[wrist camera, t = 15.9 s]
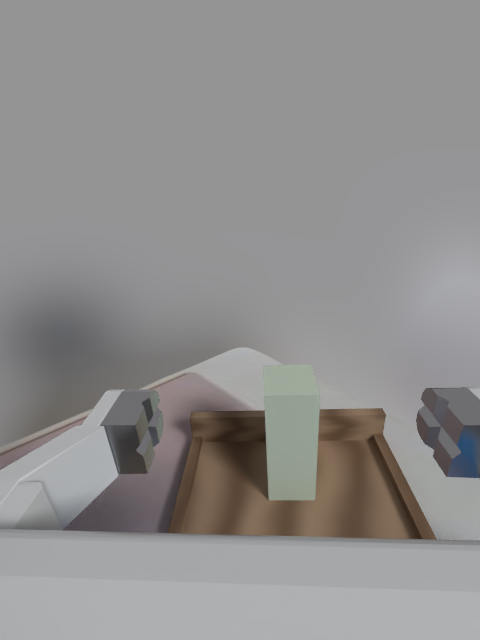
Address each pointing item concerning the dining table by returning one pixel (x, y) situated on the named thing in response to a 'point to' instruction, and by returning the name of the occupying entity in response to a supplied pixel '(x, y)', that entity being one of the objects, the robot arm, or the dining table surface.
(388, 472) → the tray
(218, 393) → the dining table surface
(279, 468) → the sage block
